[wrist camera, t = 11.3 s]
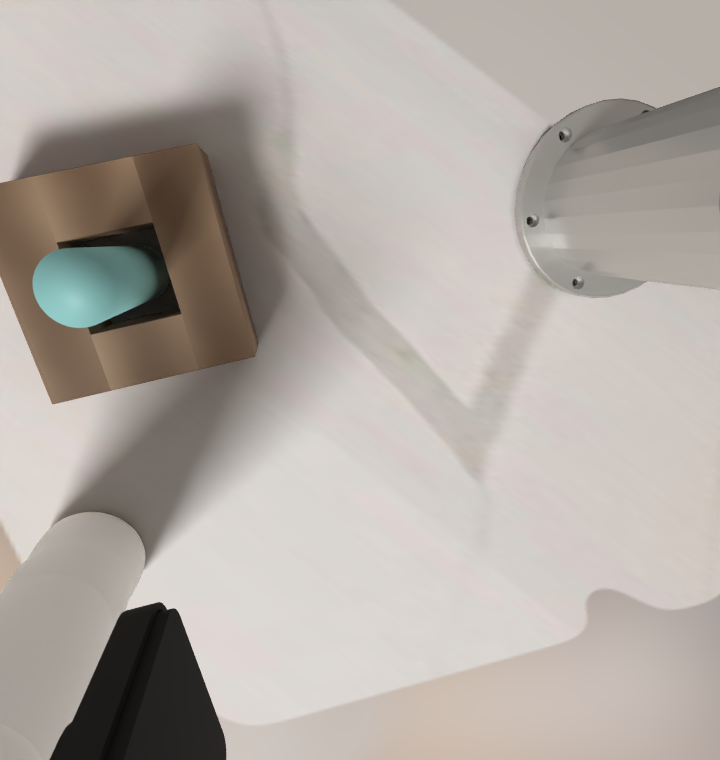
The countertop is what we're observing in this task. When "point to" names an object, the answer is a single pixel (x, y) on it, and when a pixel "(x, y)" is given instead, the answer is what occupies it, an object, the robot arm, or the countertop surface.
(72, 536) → the water bottle
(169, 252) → the socket block
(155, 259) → the dowel
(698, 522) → the countertop surface
